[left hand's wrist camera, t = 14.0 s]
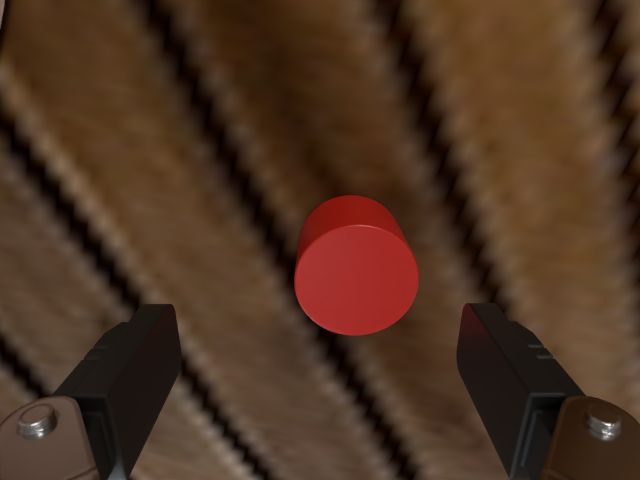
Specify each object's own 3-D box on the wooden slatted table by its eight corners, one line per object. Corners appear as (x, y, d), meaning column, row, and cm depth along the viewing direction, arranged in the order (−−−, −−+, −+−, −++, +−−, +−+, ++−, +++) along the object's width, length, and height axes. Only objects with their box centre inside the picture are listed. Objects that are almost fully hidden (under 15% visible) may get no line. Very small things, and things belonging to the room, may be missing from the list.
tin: (278, 242, 20) (268, 282, 16) (353, 173, 19) (362, 198, 15) (346, 305, 22) (352, 356, 18) (421, 245, 20) (445, 285, 17)
